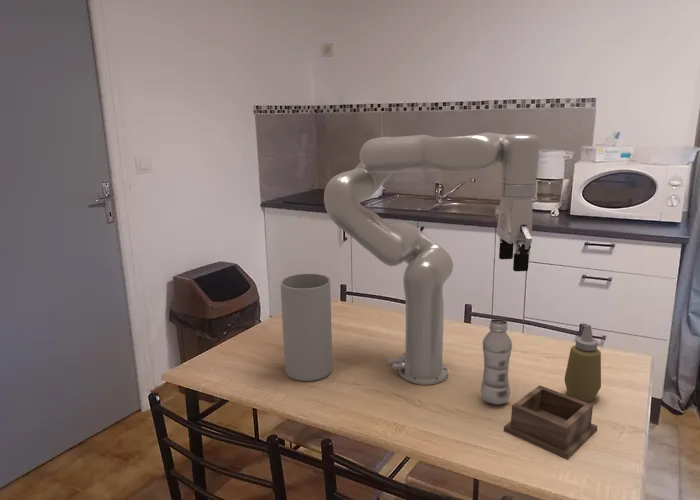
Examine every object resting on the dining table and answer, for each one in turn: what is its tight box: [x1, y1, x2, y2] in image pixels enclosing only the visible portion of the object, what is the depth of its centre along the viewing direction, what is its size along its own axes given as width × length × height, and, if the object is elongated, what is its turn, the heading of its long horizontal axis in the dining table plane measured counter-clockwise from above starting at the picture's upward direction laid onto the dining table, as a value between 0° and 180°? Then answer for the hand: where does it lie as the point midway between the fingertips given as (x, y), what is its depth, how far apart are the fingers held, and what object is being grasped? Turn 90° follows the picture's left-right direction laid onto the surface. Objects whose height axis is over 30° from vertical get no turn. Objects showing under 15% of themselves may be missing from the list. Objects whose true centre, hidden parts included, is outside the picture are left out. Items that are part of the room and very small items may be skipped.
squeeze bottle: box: [564, 324, 602, 403], centre depth 128 cm, size 8×8×18 cm
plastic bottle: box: [479, 318, 513, 406], centre depth 126 cm, size 6×7×20 cm
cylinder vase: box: [280, 273, 333, 382], centre depth 142 cm, size 12×12×25 cm
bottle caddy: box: [503, 384, 598, 460], centre depth 116 cm, size 14×14×6 cm
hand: (512, 264), depth 126 cm, fingers open, 9 cm apart
